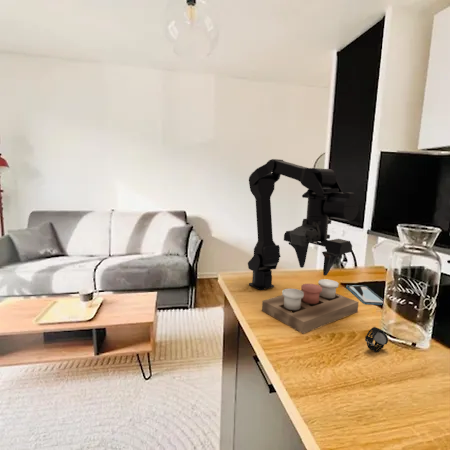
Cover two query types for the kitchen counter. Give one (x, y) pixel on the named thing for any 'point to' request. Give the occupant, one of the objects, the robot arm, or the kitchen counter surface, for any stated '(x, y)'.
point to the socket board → (310, 311)
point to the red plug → (311, 293)
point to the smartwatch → (376, 339)
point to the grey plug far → (328, 288)
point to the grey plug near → (292, 298)
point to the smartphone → (365, 295)
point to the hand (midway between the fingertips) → (313, 271)
